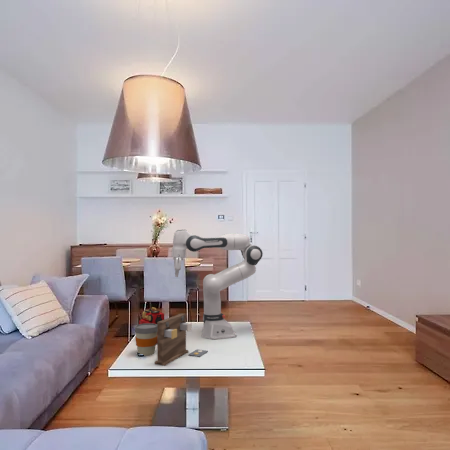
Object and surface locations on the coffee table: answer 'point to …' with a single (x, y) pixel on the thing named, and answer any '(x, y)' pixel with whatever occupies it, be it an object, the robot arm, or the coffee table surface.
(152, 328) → the reusable coffee cup
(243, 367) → the coffee table surface
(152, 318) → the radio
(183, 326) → the off-white rectangular block
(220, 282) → the robot arm
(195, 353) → the card
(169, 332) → the yellow and grey block
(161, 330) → the panel
